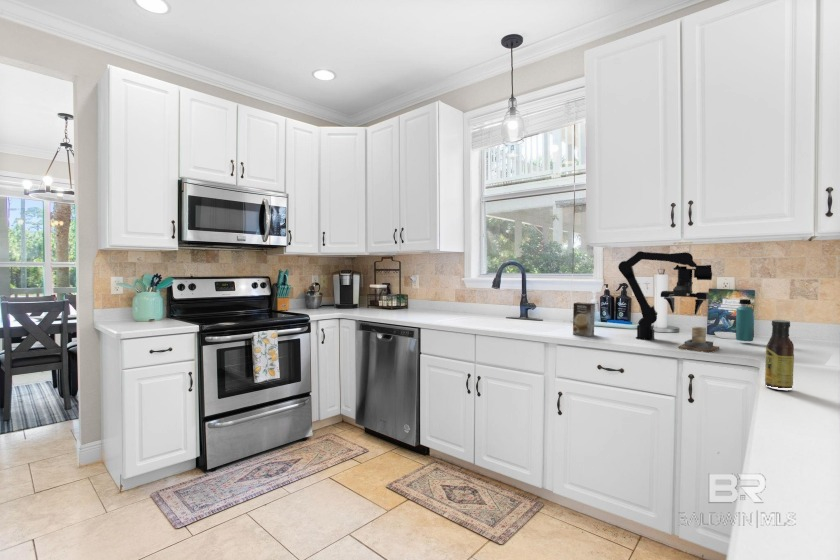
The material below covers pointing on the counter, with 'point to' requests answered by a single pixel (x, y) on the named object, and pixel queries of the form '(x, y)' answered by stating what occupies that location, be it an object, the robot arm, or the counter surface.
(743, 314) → the beverage bottle
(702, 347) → the socket holder
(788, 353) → the sauce bottle
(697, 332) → the maple peg
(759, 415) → the counter surface
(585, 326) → the coffee box
